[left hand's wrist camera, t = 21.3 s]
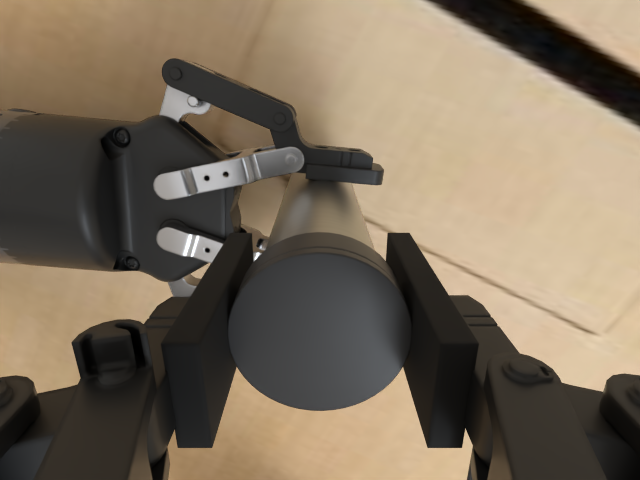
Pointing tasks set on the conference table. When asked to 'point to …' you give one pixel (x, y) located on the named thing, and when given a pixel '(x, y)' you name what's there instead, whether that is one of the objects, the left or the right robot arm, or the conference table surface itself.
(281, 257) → the lid
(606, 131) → the conference table surface
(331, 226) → the jar
